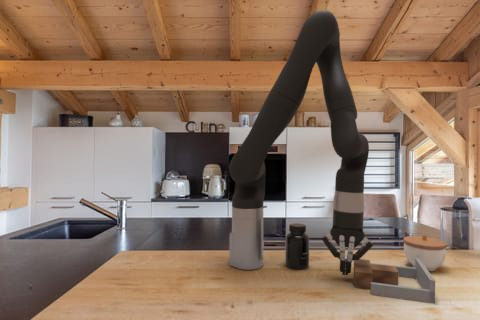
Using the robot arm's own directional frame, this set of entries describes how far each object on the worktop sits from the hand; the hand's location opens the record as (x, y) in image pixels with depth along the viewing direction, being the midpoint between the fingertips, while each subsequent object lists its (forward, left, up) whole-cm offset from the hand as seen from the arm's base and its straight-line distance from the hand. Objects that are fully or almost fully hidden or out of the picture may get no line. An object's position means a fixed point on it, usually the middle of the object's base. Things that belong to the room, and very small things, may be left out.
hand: (345, 273), depth 81 cm
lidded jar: (+22, +16, -2) cm, 27 cm away
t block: (+7, 0, -1) cm, 7 cm away
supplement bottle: (-13, +5, -2) cm, 14 cm away
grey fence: (+12, 0, -1) cm, 12 cm away
